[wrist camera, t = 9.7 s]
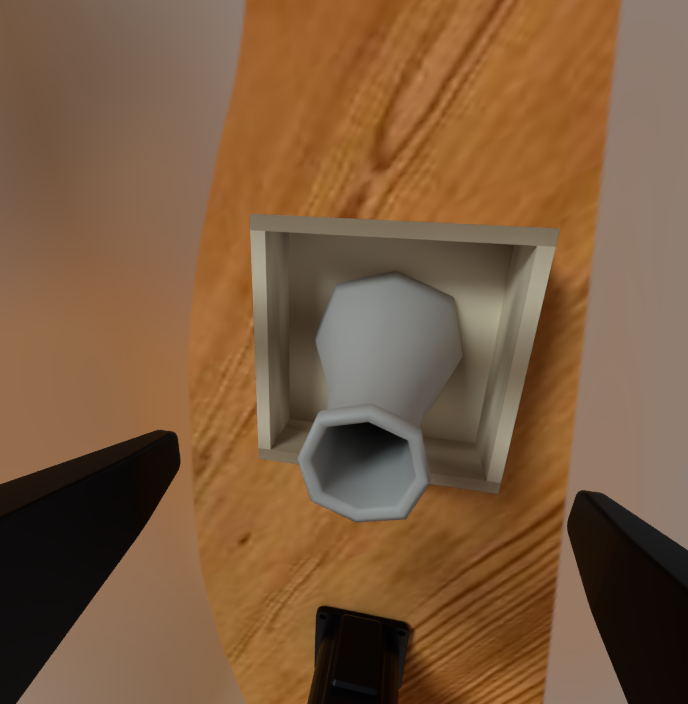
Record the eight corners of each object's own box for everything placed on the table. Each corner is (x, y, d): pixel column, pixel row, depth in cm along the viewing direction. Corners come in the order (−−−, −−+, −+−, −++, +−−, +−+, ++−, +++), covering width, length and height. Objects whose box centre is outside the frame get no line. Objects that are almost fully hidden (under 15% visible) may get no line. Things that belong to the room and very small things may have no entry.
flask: (477, 278, 16) (568, 347, 7) (448, 419, 19) (486, 612, 9) (320, 261, 17) (213, 303, 8) (311, 398, 20) (223, 553, 10)
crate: (481, 444, 20) (498, 494, 16) (285, 418, 22) (258, 458, 18) (525, 228, 16) (560, 228, 12) (283, 216, 18) (249, 213, 14)
